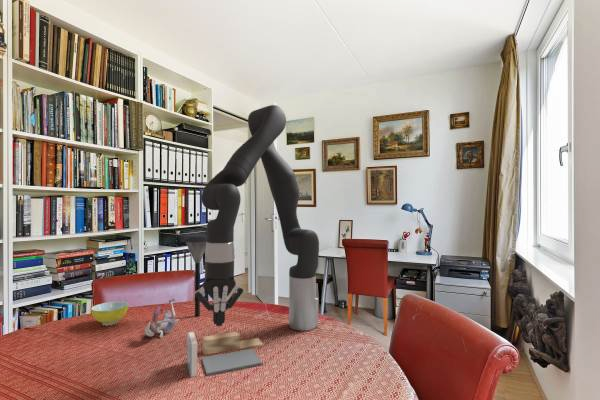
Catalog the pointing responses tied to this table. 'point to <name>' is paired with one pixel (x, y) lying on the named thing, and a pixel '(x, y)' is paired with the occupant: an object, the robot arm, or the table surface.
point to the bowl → (109, 312)
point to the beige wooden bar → (227, 343)
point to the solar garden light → (196, 261)
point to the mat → (230, 361)
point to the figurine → (162, 322)
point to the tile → (192, 354)
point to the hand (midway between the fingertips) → (218, 325)
